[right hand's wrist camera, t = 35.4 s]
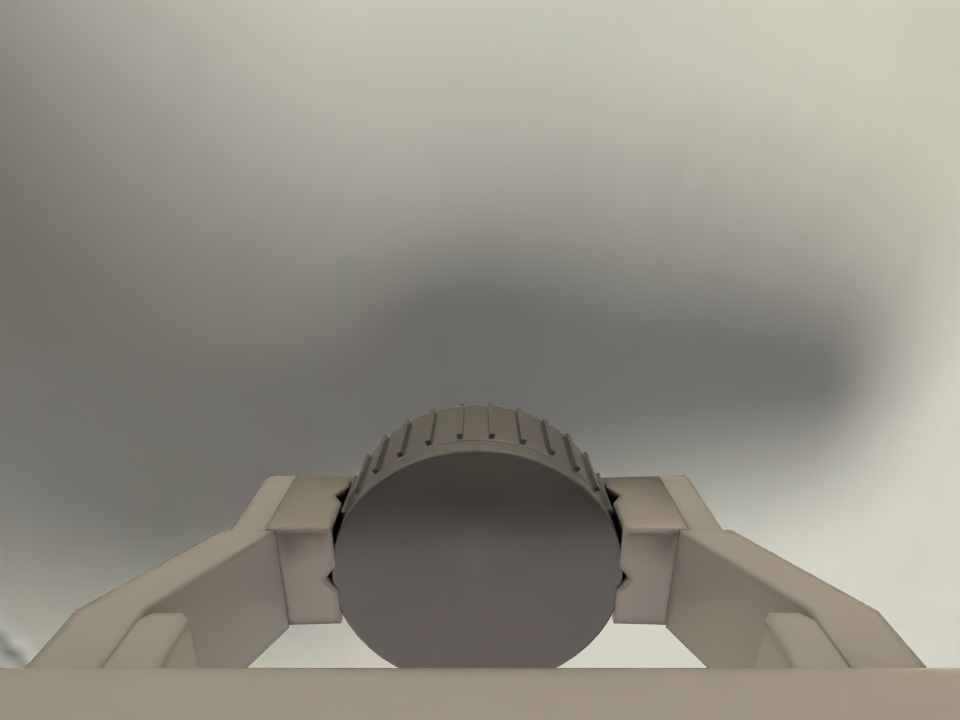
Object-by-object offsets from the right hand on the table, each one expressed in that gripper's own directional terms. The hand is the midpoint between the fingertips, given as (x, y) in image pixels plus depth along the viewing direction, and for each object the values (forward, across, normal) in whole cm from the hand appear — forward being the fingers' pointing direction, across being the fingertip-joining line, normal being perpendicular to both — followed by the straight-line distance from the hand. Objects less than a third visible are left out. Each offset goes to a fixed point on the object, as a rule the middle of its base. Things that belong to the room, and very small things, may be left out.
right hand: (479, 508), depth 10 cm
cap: (-2, 0, 0) cm, 2 cm away
